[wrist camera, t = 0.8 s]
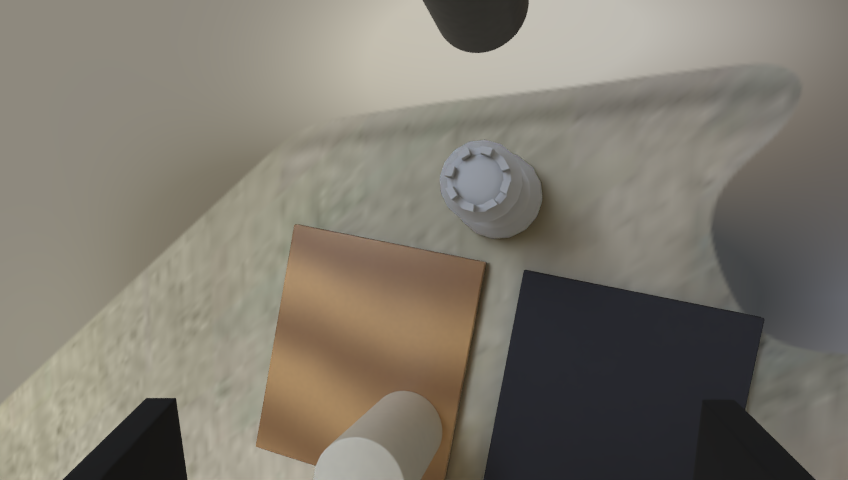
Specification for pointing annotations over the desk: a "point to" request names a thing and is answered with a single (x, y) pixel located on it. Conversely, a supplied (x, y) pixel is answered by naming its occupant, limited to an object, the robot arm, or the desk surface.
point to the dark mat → (613, 382)
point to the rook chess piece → (491, 189)
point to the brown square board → (365, 338)
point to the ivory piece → (385, 442)
